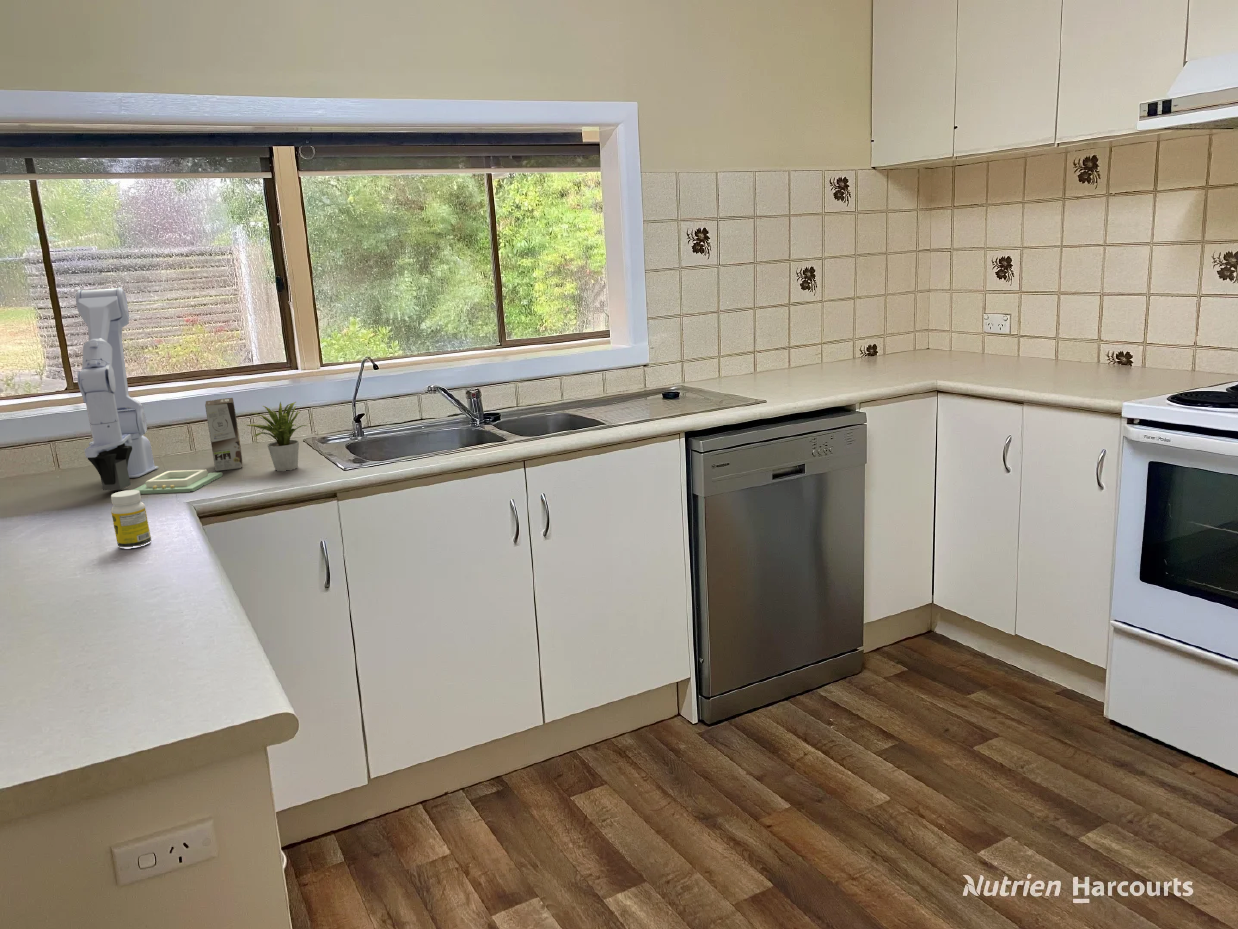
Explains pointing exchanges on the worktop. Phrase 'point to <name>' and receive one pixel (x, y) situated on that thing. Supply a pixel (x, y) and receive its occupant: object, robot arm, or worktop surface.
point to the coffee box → (224, 434)
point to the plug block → (119, 476)
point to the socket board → (178, 481)
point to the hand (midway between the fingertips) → (115, 481)
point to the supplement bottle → (130, 519)
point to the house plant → (281, 438)
